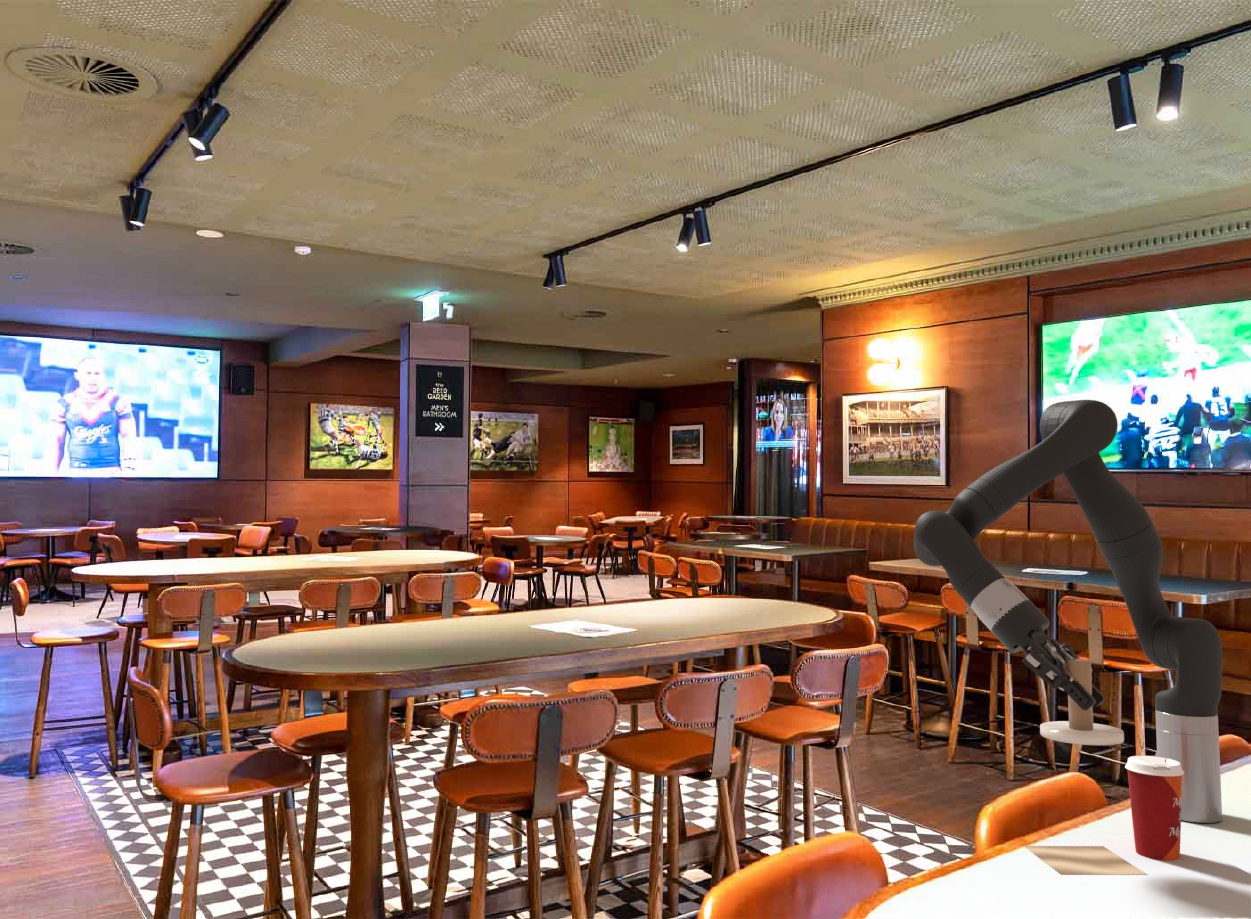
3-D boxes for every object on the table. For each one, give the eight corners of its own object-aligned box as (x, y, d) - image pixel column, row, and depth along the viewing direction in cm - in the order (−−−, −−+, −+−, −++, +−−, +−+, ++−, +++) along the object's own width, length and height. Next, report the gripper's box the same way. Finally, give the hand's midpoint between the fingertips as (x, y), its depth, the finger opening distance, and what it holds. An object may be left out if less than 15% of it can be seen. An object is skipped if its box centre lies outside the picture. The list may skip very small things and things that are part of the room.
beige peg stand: (1027, 729, 144) (1025, 655, 145) (1100, 729, 144) (1097, 655, 145) (1061, 745, 133) (1058, 665, 134) (1139, 745, 133) (1136, 665, 134)
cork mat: (1023, 850, 143) (1023, 846, 143) (1103, 850, 143) (1103, 846, 143) (1060, 878, 131) (1060, 874, 131) (1147, 879, 131) (1147, 874, 131)
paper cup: (1196, 869, 135) (1192, 768, 136) (1137, 865, 137) (1134, 765, 138) (1176, 851, 143) (1172, 755, 144) (1120, 847, 144) (1117, 753, 145)
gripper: (1006, 600, 140) (1097, 694, 131) (1043, 596, 150) (1130, 683, 141) (972, 634, 143) (1058, 728, 134) (1011, 627, 153) (1094, 714, 144)
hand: (1095, 704), depth 137 cm, fingers closed on beige peg stand, 3 cm apart
